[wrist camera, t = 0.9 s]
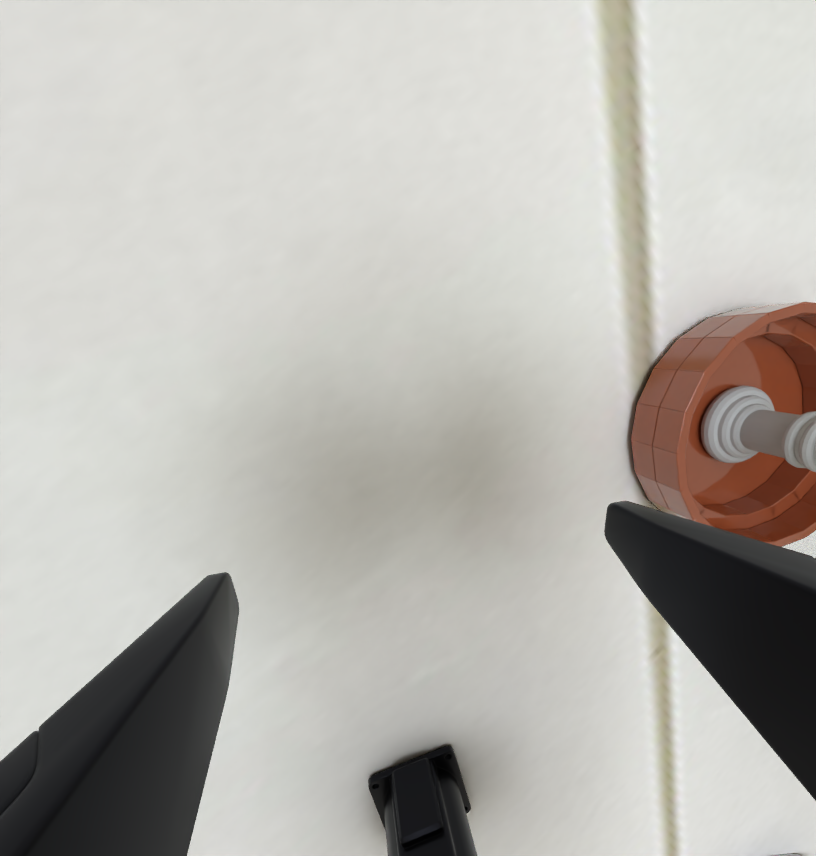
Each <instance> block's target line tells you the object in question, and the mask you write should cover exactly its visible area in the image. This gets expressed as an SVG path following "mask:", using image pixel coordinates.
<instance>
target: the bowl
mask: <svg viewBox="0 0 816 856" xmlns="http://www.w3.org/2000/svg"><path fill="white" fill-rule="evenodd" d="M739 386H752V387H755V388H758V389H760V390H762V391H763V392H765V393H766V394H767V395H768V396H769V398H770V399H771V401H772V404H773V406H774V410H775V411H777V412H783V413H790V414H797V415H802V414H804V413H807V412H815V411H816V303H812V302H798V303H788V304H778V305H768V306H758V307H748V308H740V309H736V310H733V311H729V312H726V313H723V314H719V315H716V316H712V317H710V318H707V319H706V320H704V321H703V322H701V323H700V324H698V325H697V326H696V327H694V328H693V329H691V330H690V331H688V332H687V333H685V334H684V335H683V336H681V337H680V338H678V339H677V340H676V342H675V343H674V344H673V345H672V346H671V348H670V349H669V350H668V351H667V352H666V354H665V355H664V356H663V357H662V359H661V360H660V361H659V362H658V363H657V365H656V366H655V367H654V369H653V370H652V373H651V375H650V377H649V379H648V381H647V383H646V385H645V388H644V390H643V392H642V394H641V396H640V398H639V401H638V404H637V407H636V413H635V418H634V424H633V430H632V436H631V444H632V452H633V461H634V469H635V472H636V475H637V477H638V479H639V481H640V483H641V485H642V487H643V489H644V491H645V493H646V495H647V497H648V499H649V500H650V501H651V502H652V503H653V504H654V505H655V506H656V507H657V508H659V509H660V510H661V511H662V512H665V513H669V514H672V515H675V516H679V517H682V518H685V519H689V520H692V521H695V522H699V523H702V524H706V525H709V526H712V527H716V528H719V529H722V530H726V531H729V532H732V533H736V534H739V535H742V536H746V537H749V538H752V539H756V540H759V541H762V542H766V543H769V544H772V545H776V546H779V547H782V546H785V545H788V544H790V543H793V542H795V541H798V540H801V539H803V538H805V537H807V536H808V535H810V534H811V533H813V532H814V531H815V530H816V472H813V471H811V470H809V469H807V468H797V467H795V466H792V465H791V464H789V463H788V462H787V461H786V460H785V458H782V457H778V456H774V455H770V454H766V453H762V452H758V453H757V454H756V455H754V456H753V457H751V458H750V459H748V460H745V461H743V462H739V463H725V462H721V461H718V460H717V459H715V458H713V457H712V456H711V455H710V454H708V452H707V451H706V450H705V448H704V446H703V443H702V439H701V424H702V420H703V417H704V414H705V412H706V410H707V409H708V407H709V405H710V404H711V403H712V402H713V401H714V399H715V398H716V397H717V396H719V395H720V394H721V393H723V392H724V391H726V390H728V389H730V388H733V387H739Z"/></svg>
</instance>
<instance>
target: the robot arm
mask: <svg viewBox="0 0 816 856" xmlns="http://www.w3.org/2000/svg"><path fill="white" fill-rule="evenodd" d="M604 532H605V537H606V540H607V542H608V543H609V545H610V546H611V548H612V549H613V550H614V552H615V553H616V555H617V556H618V558H619V559H620V561H621V562H622V563H623V565H624V566H625V568H626V569H627V571H628V572H629V574H630V575H631V576H632V578H633V579H634V581H635V582H636V584H637V585H638V587H639V588H640V589H641V591H642V592H643V593H644V595H645V596H646V597H647V598H648V600H649V601H650V602H651V604H652V605H653V606H654V607H655V608H656V610H657V611H658V612H659V613H660V614H661V616H662V617H663V618H664V619H665V620H666V622H667V623H668V624H669V625H670V626H671V628H672V629H673V630H674V631H675V632H676V634H677V635H678V636H679V637H680V638H681V640H682V641H683V642H684V643H685V644H686V646H687V647H688V648H689V649H690V650H691V652H692V653H693V654H694V655H695V656H696V658H697V659H698V660H699V661H700V662H701V664H702V665H703V666H704V667H705V668H706V670H707V671H708V672H709V673H710V674H711V676H712V677H713V678H714V679H715V680H716V682H717V683H718V684H719V685H720V686H721V688H722V689H723V690H724V691H725V692H726V694H727V695H728V696H729V697H730V698H731V700H732V701H733V702H734V703H735V704H736V706H737V707H738V708H739V709H740V710H741V712H742V713H743V714H744V715H745V716H746V718H747V719H748V720H749V721H750V722H751V724H752V725H753V726H754V727H755V728H756V730H757V731H758V732H759V733H760V734H761V736H762V737H763V738H764V739H765V740H766V742H767V743H768V744H769V745H770V746H771V748H772V749H773V750H774V751H775V752H776V754H777V755H778V756H779V757H780V758H781V760H782V761H783V762H784V763H785V764H786V766H787V767H788V768H789V769H790V770H791V772H792V773H793V774H794V775H795V776H796V778H797V779H798V780H799V781H800V782H801V784H802V785H803V786H804V787H805V788H806V790H807V791H808V792H809V793H810V794H811V796H812V797H813V798H814V799H815V800H816V558H815V559H814V558H813V557H812V556H809V555H806V554H803V553H799V552H796V551H793V550H789V549H786V548H783V547H779V546H776V545H772V544H769V543H766V542H762V541H759V540H756V539H752V538H749V537H746V536H742V535H739V534H736V533H732V532H729V531H726V530H722V529H719V528H716V527H712V526H709V525H706V524H702V523H699V522H695V521H692V520H689V519H685V518H682V517H679V516H675V515H672V514H669V513H665V512H662V511H659V510H655V509H652V508H649V507H645V506H642V505H639V504H635V503H632V502H629V501H621V502H615V503H611V504H610V505H609V506H608V508H607V514H606V522H605V531H604ZM238 615H239V603H238V599H237V596H236V592H235V589H234V586H233V582H232V579H231V576H230V575H229V574H228V573H226V572H224V573H219V574H213V575H209V576H207V577H206V578H204V579H203V580H202V581H201V582H200V583H199V584H198V585H196V586H195V587H194V588H193V589H192V590H191V591H190V592H189V593H188V594H186V595H185V596H184V597H183V598H182V599H181V600H180V601H179V602H178V603H176V604H175V605H174V606H173V607H172V608H171V609H170V610H169V611H168V612H166V613H165V614H164V615H163V616H162V617H161V618H160V619H159V620H158V621H156V622H155V623H154V624H153V625H152V626H151V627H150V628H149V629H147V630H146V631H145V632H144V633H143V634H142V635H141V636H140V637H139V638H137V639H136V640H135V641H134V642H133V643H132V644H131V645H130V646H129V647H127V648H126V649H125V650H124V651H123V652H122V653H121V654H120V655H119V656H117V657H116V658H115V659H114V660H113V661H112V662H111V663H110V664H109V665H107V666H106V667H105V668H104V669H103V670H102V671H101V672H100V673H99V674H97V675H96V676H95V677H94V678H93V679H92V680H91V681H90V682H89V683H87V684H86V685H85V686H84V687H83V688H82V689H81V690H80V691H78V692H77V693H76V694H75V695H74V696H73V697H72V698H71V699H70V700H68V701H67V702H66V703H65V704H64V705H63V706H62V707H61V708H60V709H58V710H57V711H56V712H55V713H54V714H53V715H52V716H51V717H50V718H48V719H47V720H46V721H45V722H44V723H43V724H42V725H41V726H40V727H39V731H34V732H33V733H32V734H30V735H29V736H28V737H27V738H26V739H25V740H24V741H23V742H22V743H20V744H19V745H18V746H17V747H16V748H15V749H14V750H13V751H12V752H10V753H9V754H8V755H7V756H6V757H5V758H4V759H3V760H1V761H0V856H187V853H188V849H189V845H190V841H191V836H192V832H193V828H194V824H195V820H196V816H197V812H198V808H199V804H200V800H201V796H202V792H203V788H204V784H205V780H206V776H207V772H208V768H209V764H210V760H211V756H212V752H213V748H214V744H215V740H216V736H217V732H218V728H219V724H220V720H221V716H222V712H223V708H224V704H225V700H226V695H227V691H228V686H229V680H230V674H231V666H232V659H233V652H234V644H235V637H236V630H237V623H238ZM369 790H370V792H371V795H372V797H373V800H374V803H375V805H376V808H377V810H378V813H379V815H380V818H381V820H382V823H383V825H384V828H385V830H386V839H387V849H388V856H477V852H476V849H475V845H474V841H473V838H472V834H471V830H470V826H469V823H468V819H467V815H466V813H468V812H469V811H470V809H471V806H470V803H469V799H468V796H467V793H466V789H465V786H464V783H463V780H462V776H461V773H460V770H459V767H458V763H457V760H456V757H455V754H454V751H453V748H452V747H451V746H445V747H443V748H440V749H438V750H435V751H433V752H430V753H428V754H425V755H423V756H420V757H418V758H415V759H413V760H410V761H408V762H405V763H403V764H400V765H398V766H395V767H393V768H390V769H388V770H385V771H383V772H380V773H378V774H375V775H373V776H371V777H370V778H369Z"/></svg>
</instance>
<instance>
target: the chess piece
mask: <svg viewBox="0 0 816 856" xmlns="http://www.w3.org/2000/svg"><path fill="white" fill-rule="evenodd" d="M701 439H702V443H703V446H704V448H705V450H706V451H707V452H708V454H710V455H711V456H712V457H713V458H715V459H717V460H718V461H721V462H725V463H739V462H743V461H745V460H748V459H750V458H751V457H753V456H754V455H756V454H757V453H758V452H762V453H766V454H770V455H774V456H778V457H782V458H785V460H786V461H787V462H788V463H789V464H791V465H792V466H795V467H797V468H807V469H809V470H811V471H813V472H816V411H815V412H807V413H804V414H802V415H797V414H790V413H783V412H777V411H775V410H774V406H773V404H772V401H771V399H770V398H769V396H768V395H767V394H766V393H765V392H763V391H762V390H760V389H758V388H755V387H752V386H739V387H733V388H730V389H728V390H726V391H724V392H723V393H721V394H720V395H719V396H717V397H716V398H715V399H714V401H713V402H712V403H711V404H710V405H709V407H708V409H707V410H706V412H705V414H704V417H703V420H702V424H701Z"/></svg>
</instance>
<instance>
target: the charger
mask: <svg viewBox="0 0 816 856" xmlns="http://www.w3.org/2000/svg"><path fill="white" fill-rule="evenodd" d="M774 856H801V855H797V854H783V855H774Z"/></svg>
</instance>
